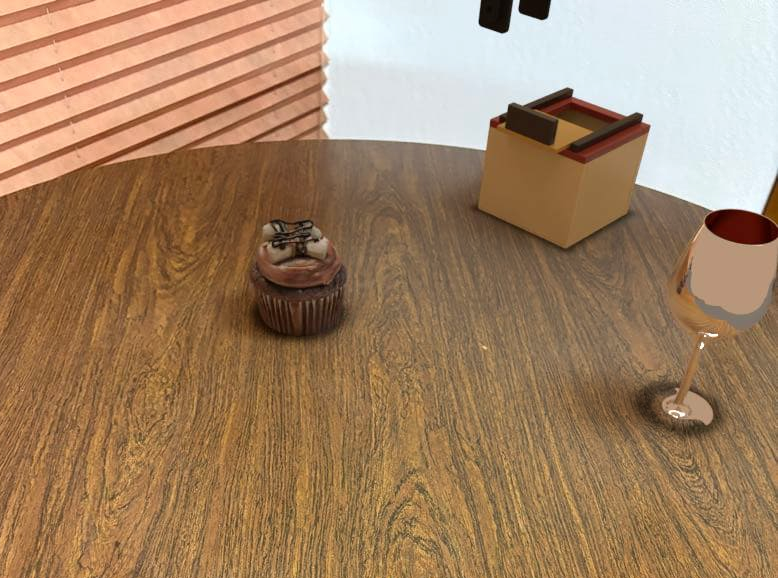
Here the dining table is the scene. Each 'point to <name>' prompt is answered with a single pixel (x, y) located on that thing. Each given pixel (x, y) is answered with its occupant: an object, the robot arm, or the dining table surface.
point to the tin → (564, 172)
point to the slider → (540, 128)
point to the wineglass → (720, 290)
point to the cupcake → (298, 279)
